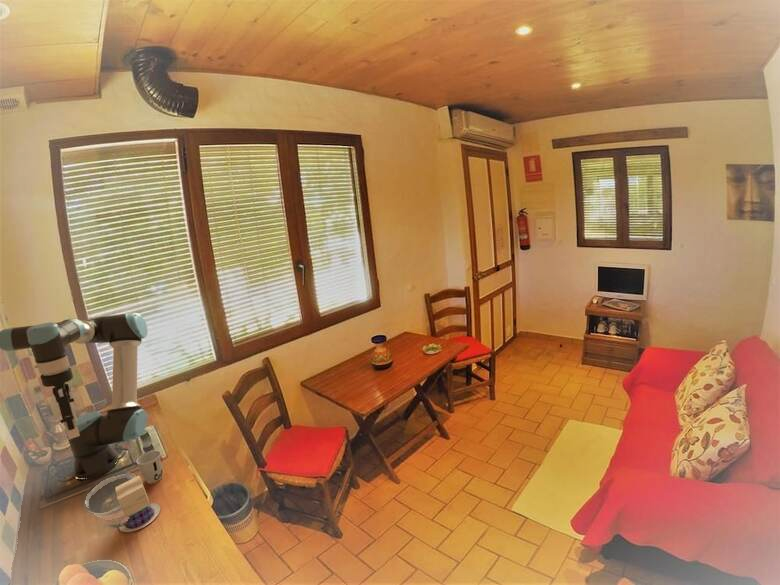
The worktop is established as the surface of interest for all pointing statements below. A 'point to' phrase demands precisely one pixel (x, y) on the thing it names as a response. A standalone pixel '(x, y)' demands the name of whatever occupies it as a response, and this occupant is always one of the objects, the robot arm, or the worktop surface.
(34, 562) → the worktop surface
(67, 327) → the robot arm
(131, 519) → the plate of blueberries
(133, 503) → the block
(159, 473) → the cup
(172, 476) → the worktop surface
